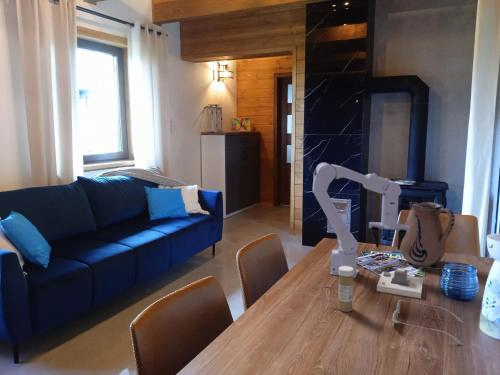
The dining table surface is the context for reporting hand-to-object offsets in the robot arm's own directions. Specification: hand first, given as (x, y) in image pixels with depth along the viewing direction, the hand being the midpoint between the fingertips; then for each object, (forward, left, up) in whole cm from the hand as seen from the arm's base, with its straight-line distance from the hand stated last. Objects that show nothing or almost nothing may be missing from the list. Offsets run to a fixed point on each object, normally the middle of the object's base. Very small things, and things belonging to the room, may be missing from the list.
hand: (388, 247), depth 150 cm
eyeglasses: (+16, -36, -11) cm, 41 cm away
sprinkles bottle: (-8, -36, -11) cm, 38 cm away
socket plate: (+6, -11, -10) cm, 16 cm away
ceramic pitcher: (+13, +18, -11) cm, 24 cm away
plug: (+6, -11, -11) cm, 16 cm away
